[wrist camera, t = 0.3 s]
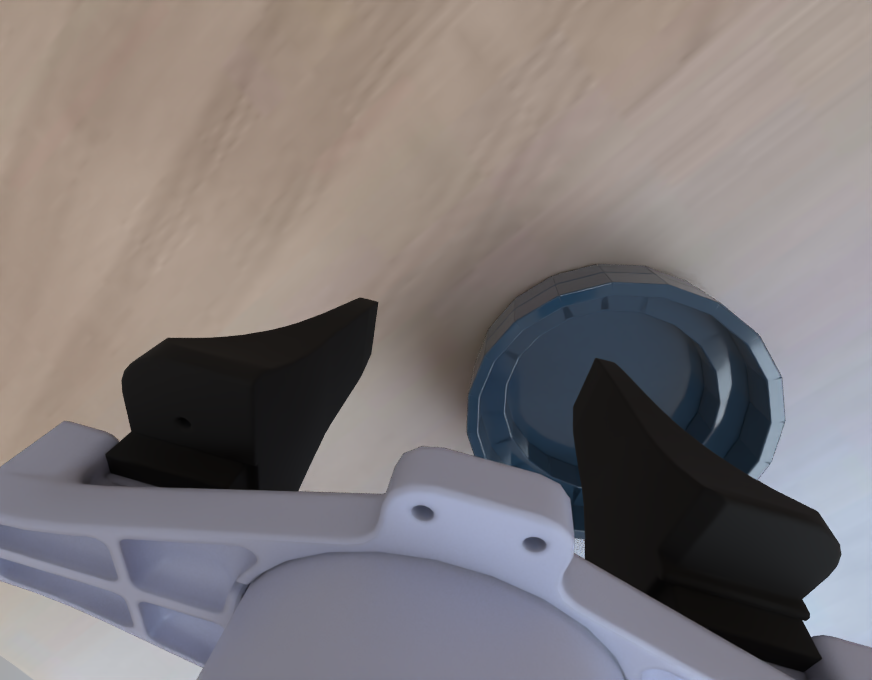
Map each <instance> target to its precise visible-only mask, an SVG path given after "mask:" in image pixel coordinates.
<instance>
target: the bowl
mask: <svg viewBox="0 0 872 680" xmlns="http://www.w3.org/2000/svg"><path fill="white" fill-rule="evenodd" d="M595 358H599V359H603V360H607V361H611V362H615V363H616V364H617V365H618V366H619V367H620V368H621V369H622V370H623V371H624V372H625V373H626V374H627V375H628V376H629V377H630V378H631V379H632V380H633V381H634V382H635V383H636V384H637V385H638V386H639V387H640V388H641V389H642V390H643V392H644V393H645V394H646V395H647V396H648V397H649V398H650V399H651V400H652V401H653V402H654V403H655V404H656V405H657V406H658V407H659V408H660V409H661V410H662V411H664V412H665V413H666V414H667V415H668V416H669V417H670V418H671V419H672V420H673V421H674V422H675V423H677V424H678V425H679V426H680V427H681V428H682V429H684V430H685V431H686V432H687V433H689V434H690V435H691V436H692V437H694V438H695V439H696V440H697V441H699V442H700V443H701V444H703V445H704V446H705V447H707V448H708V449H709V450H711V451H712V452H714V453H715V454H717V455H718V456H720V457H721V458H723V459H724V460H726V461H727V462H728V463H730V464H731V465H733V466H735V467H736V468H738V469H739V470H741V471H743V472H744V473H746V474H748V475H749V476H751V477H753V478H754V479H756V480H758V479H759V478H760V476H761V475H762V474H763V473H764V471H765V470H766V469H767V468H768V466H769V465H770V463H771V462H772V459H773V456H774V453H775V450H776V447H777V444H778V441H779V439H780V436H781V433H782V430H783V427H784V424H785V409H784V395H783V382H782V377H781V374H780V372H779V370H778V368H777V367H776V365H775V363H774V361H773V359H772V357H771V355H770V354H769V352H768V350H767V348H766V346H765V344H764V342H763V341H762V339H761V337H760V336H759V334H758V333H757V332H755V331H754V330H753V329H752V328H750V327H749V326H748V325H747V324H746V323H744V322H743V321H742V320H741V319H739V318H738V317H737V316H736V315H735V314H733V313H732V312H731V311H730V310H729V309H727V308H726V307H725V306H724V305H722V304H721V303H720V302H718V301H717V300H715V299H714V298H712V297H711V296H709V295H708V294H706V293H705V292H703V291H701V290H700V289H698V288H697V287H695V286H694V285H692V284H691V283H689V282H688V281H686V280H683V279H680V278H677V277H675V276H672V275H669V274H666V273H664V272H661V271H658V270H655V269H652V268H650V267H647V266H638V265H610V264H598V265H596V264H595V265H591V266H588V267H584V268H580V269H576V270H572V271H569V272H565V273H561V274H557V275H554V276H551V277H549V278H548V279H546V280H544V281H543V282H541V283H540V284H538V285H536V286H535V287H533V288H531V289H530V290H528V291H526V292H525V293H523V294H522V295H520V296H518V297H517V298H516V299H514V300H513V301H512V303H511V304H510V305H509V306H508V307H507V308H506V309H505V311H504V312H503V313H502V314H501V315H500V316H499V318H498V319H497V320H496V321H495V322H494V323H493V324H492V326H491V327H490V328H489V330H488V332H487V334H486V336H485V339H484V341H483V344H482V346H481V349H480V351H479V354H478V356H477V359H476V361H475V365H474V369H473V374H472V379H471V383H470V388H469V393H468V407H467V435H468V438H469V441H470V444H471V447H472V450H473V453H474V456H476V457H480V458H483V459H487V460H491V461H494V462H498V463H502V464H505V465H509V466H513V467H516V468H520V469H524V470H527V471H531V472H535V473H538V474H541V475H543V476H545V477H547V478H549V479H551V480H553V481H555V482H557V483H559V484H560V485H561V486H562V488H563V489H564V491H565V492H566V494H567V495H568V496H569V498H570V501H571V510H572V519H573V528H574V537H575V538H578V539H585V527H584V503H583V494H582V487H581V481H580V475H579V469H578V463H577V456H576V450H575V444H574V437H573V406H574V403H575V401H576V399H577V397H578V395H579V393H580V390H581V388H582V386H583V384H584V382H585V379H586V377H587V375H588V373H589V371H590V369H591V366H592V364H593V362H594V360H595Z"/></svg>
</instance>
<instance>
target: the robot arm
mask: <svg viewBox="0 0 872 680" xmlns="http://www.w3.org/2000/svg"><path fill="white" fill-rule="evenodd" d="M377 308H378V302H376V301H372V300H368V299H364V298H358V299H355V300H353V301H350V302H348V303H346V304H344V305H342V306H339V307H337V308H335V309H332V310H330V311H328V312H326V313H323V314H321V315H318V316H315V317H313V318H310V319H307V320H304V321H302V322H299V323H296V324H293V325H289V326H285V327H281V328H278V329H274V330H269V331H263V332H257V333H251V334H245V335H238V336H228V337H214V338H167V339H165V340H164V341H162V342H161V343H159V344H158V345H156V346H155V347H154V348H152V349H151V350H149V351H148V352H146V353H145V354H144V355H142V356H141V357H139V358H138V359H136V360H135V361H133V362H132V363H131V364H130V365H129V366H128V367H127V368H126V369H125V371H124V374H123V377H122V392H123V397H124V401H125V406H126V410H127V414H128V419H129V423H130V427H131V432H130V433H129V434H128V435H127V436H126V437H125V438H123V439H122V440H121V441H120V442H119V441H118V439H117V438H115V437H114V436H113V435H112V434H110V433H108V432H106V431H102V430H98V429H95V428H91V427H88V426H84V425H81V424H77V423H74V422H70V421H63V422H62V423H61V424H59V425H58V426H56V427H55V428H54V429H52V430H51V431H49V432H48V433H47V434H45V435H44V436H42V437H41V438H40V439H38V440H37V441H35V442H34V443H33V444H31V445H30V446H29V447H27V448H26V449H24V450H23V451H22V452H20V453H19V454H17V455H16V456H15V457H13V458H12V459H10V460H9V461H8V462H6V463H5V464H3V465H2V466H1V467H0V581H2V582H5V583H8V584H11V585H14V586H17V587H20V588H23V589H26V590H29V591H32V592H35V593H37V594H40V595H43V596H45V597H48V598H50V599H53V600H55V601H58V602H61V603H63V604H66V605H68V606H71V607H73V608H75V609H77V610H80V611H82V612H84V613H86V614H89V615H91V616H93V617H95V618H98V619H100V620H102V621H104V622H107V623H109V624H111V625H113V626H115V627H117V628H119V629H121V630H124V631H126V632H128V633H130V634H132V635H134V636H136V637H138V638H141V639H143V640H145V641H147V642H149V643H151V644H153V645H155V646H158V647H160V648H162V649H164V650H166V651H168V652H170V653H172V654H175V655H177V656H179V657H181V658H183V659H185V660H187V661H189V662H192V663H194V664H196V665H198V666H200V667H202V668H203V669H202V671H201V673H200V674H199V676H198V678H197V680H872V648H871V647H868V646H864V645H860V644H857V643H853V642H850V641H846V640H843V639H839V638H836V637H832V636H825V635H820V636H813V637H811V636H810V634H809V632H808V630H807V629H806V627H805V625H804V623H803V621H802V620H804V621H806V620H808V619H809V618H810V613H809V611H808V609H807V607H806V605H805V604H804V602H803V600H802V599H803V598H804V597H805V596H806V595H808V594H809V593H810V592H811V591H812V590H813V589H815V588H816V587H817V586H818V585H819V584H820V583H821V582H823V581H824V580H825V579H826V578H827V577H828V576H829V575H830V574H831V573H832V572H833V570H834V569H835V568H836V567H837V565H838V563H839V560H840V557H841V549H840V544H839V542H838V541H837V539H836V538H835V536H834V535H833V533H832V532H831V530H830V529H829V527H828V526H827V524H826V523H825V521H824V520H823V518H822V517H821V515H820V514H819V513H818V512H817V511H816V510H814V509H812V508H810V507H808V506H806V505H804V504H802V503H800V502H798V501H796V500H794V499H792V498H790V497H788V496H786V495H784V494H782V493H780V492H778V491H776V490H774V489H772V488H770V487H768V486H767V485H765V484H763V483H761V482H760V481H758V480H756V479H754V478H753V477H751V476H749V475H748V474H746V473H744V472H743V471H741V470H739V469H738V468H736V467H735V466H733V465H731V464H730V463H728V462H727V461H726V460H724V459H723V458H721V457H720V456H718V455H717V454H715V453H714V452H712V451H711V450H709V449H708V448H707V447H705V446H704V445H703V444H701V443H700V442H699V441H697V440H696V439H695V438H694V437H692V436H691V435H690V434H689V433H687V432H686V431H685V430H684V429H682V428H681V427H680V426H679V425H678V424H677V423H675V422H674V421H673V420H672V419H671V418H670V417H669V416H668V415H667V414H666V413H665V412H664V411H662V410H661V409H660V408H659V407H658V406H657V405H656V404H655V403H654V402H653V401H652V400H651V399H650V398H649V397H648V396H647V395H646V394H645V393H644V392H643V390H642V389H641V388H640V387H639V386H638V385H637V384H636V383H635V382H634V381H633V380H632V379H631V378H630V377H629V376H628V375H627V374H626V373H625V372H624V371H623V370H622V369H621V368H620V367H619V366H618V365H617V364H616V363H615V362H611V361H607V360H603V359H599V358H595V360H594V362H593V364H592V366H591V369H590V371H589V373H588V375H587V377H586V379H585V382H584V384H583V386H582V388H581V390H580V393H579V395H578V397H577V399H576V401H575V403H574V406H573V437H574V444H575V450H576V456H577V463H578V469H579V475H580V481H581V487H582V494H583V503H584V527H585V559H584V558H582V557H580V556H578V555H577V554H575V553H574V546H575V537H574V528H573V519H572V510H571V501H570V498H569V496H568V495H567V494H566V492H565V491H564V489H563V488H562V486H561V485H560V484H559V483H557V482H555V481H553V480H551V479H549V478H547V477H545V476H543V475H541V474H538V473H535V472H531V471H527V470H524V469H520V468H516V467H513V466H509V465H505V464H502V463H498V462H494V461H491V460H487V459H483V458H480V457H476V456H472V455H469V454H465V453H461V452H458V451H454V450H450V449H447V448H439V447H426V446H421V447H418V448H416V449H413V450H411V451H408V452H406V453H403V455H402V456H401V458H400V460H399V461H398V463H397V464H396V466H395V468H394V471H393V474H392V477H391V479H390V482H389V485H388V488H387V491H386V493H384V494H370V493H335V492H301V491H299V488H300V486H301V484H302V482H303V479H304V477H305V475H306V473H307V471H308V469H309V466H310V464H311V462H312V460H313V458H314V456H315V454H316V452H317V450H318V448H319V445H320V443H321V441H322V439H323V437H324V435H325V433H326V431H327V430H328V428H329V426H330V424H331V423H332V421H333V420H334V418H335V417H336V415H337V413H338V412H339V410H340V409H341V407H342V406H343V404H344V403H345V401H346V399H347V398H348V396H349V395H350V393H351V392H352V390H353V389H354V387H355V385H356V384H357V382H358V381H359V379H360V377H361V376H362V373H363V371H364V369H365V367H366V365H367V362H368V360H369V358H370V355H371V352H372V345H373V337H374V330H375V323H376V315H377Z"/></svg>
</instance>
